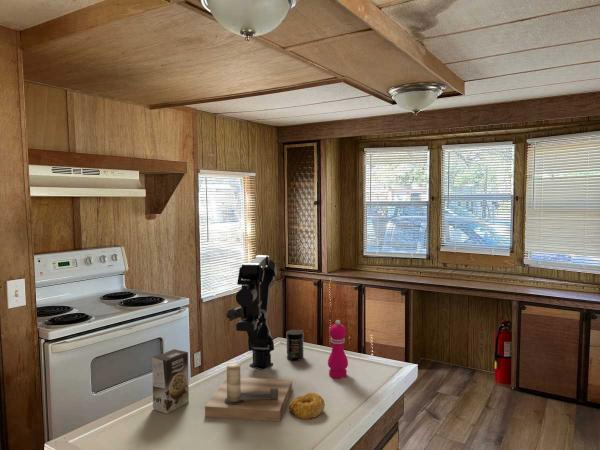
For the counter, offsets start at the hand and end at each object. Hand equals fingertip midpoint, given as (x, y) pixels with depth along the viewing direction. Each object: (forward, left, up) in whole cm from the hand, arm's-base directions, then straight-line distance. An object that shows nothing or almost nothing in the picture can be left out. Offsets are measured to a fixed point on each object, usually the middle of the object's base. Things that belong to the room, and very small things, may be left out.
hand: (252, 344), depth 156 cm
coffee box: (-6, -29, -13) cm, 32 cm away
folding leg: (+15, -15, -10) cm, 24 cm away
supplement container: (-2, +26, -13) cm, 30 cm away
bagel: (+28, -6, -13) cm, 32 cm away
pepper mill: (+21, +22, -13) cm, 33 cm away
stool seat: (+11, -12, -13) cm, 21 cm away
